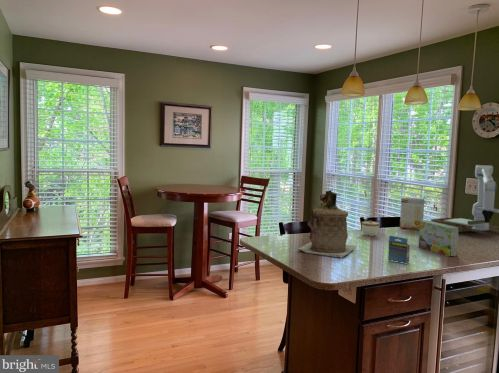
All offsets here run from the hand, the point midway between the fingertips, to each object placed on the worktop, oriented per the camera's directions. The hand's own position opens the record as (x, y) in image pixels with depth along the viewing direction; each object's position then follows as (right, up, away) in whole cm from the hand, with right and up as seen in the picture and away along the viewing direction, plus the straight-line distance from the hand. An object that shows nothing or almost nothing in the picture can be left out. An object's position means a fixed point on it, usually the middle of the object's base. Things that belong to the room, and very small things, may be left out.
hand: (487, 222), depth 249 cm
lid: (-7, -1, +12) cm, 14 cm away
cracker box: (-39, -6, +21) cm, 45 cm away
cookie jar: (-109, -11, -43) cm, 118 cm away
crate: (-12, -6, +22) cm, 25 cm away
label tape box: (-79, -13, -62) cm, 102 cm away
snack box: (-51, -12, -41) cm, 67 cm away
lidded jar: (-75, -8, -3) cm, 75 cm away
